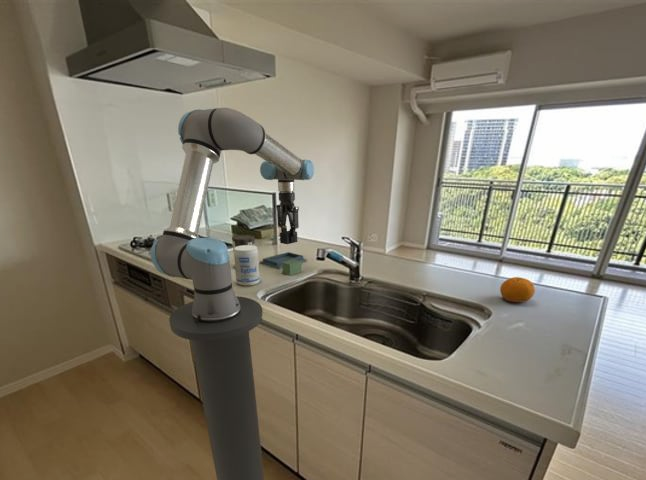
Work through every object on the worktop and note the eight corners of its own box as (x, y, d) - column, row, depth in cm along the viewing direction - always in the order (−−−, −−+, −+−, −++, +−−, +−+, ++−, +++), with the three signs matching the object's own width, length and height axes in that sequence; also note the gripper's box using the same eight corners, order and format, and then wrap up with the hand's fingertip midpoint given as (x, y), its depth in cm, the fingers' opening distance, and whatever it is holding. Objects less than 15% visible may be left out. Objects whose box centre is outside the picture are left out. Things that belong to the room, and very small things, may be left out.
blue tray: (279, 268, 157) (278, 263, 156) (260, 263, 166) (260, 258, 165) (306, 260, 169) (306, 256, 167) (287, 256, 177) (287, 251, 176)
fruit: (491, 297, 123) (496, 276, 119) (513, 293, 126) (518, 272, 122) (515, 307, 114) (521, 285, 110) (538, 303, 117) (545, 281, 113)
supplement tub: (242, 288, 134) (238, 251, 128) (233, 281, 141) (229, 247, 135) (264, 283, 139) (261, 248, 133) (254, 277, 146) (251, 243, 140)
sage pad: (290, 275, 148) (289, 264, 146) (282, 273, 151) (282, 262, 149) (301, 271, 153) (301, 261, 150) (294, 269, 156) (293, 259, 154)
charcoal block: (287, 244, 162) (286, 234, 160) (280, 242, 165) (279, 232, 163) (297, 241, 167) (297, 231, 164) (290, 240, 170) (290, 230, 168)
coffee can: (261, 266, 162) (258, 236, 156) (243, 270, 155) (240, 240, 149) (247, 262, 168) (245, 233, 162) (230, 266, 161) (227, 237, 155)
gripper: (306, 192, 152) (307, 243, 162) (279, 190, 164) (282, 238, 174) (293, 193, 148) (295, 246, 158) (267, 191, 159) (271, 240, 169)
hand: (288, 241), depth 166 cm, fingers closed on charcoal block, 5 cm apart
